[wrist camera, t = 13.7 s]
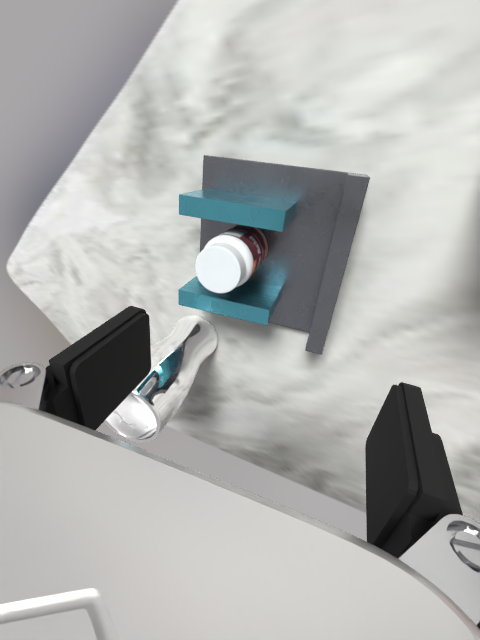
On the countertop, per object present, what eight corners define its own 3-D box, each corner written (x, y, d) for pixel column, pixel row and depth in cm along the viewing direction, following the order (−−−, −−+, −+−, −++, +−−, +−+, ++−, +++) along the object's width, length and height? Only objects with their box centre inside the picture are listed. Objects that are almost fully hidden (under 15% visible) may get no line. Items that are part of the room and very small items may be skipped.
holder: (207, 155, 31) (173, 154, 25) (366, 174, 27) (371, 178, 21) (201, 302, 38) (174, 328, 32) (324, 331, 35) (319, 365, 29)
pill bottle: (270, 267, 33) (248, 298, 25) (227, 269, 34) (195, 298, 27) (266, 220, 31) (241, 239, 23) (221, 224, 32) (185, 243, 25)
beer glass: (202, 303, 38) (130, 375, 26) (231, 349, 40) (176, 438, 27) (162, 322, 41) (80, 394, 29) (190, 364, 43) (124, 449, 30)
